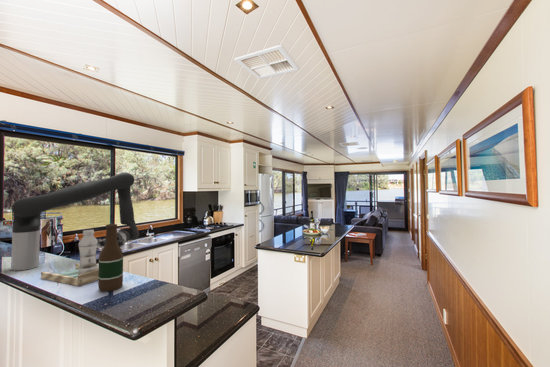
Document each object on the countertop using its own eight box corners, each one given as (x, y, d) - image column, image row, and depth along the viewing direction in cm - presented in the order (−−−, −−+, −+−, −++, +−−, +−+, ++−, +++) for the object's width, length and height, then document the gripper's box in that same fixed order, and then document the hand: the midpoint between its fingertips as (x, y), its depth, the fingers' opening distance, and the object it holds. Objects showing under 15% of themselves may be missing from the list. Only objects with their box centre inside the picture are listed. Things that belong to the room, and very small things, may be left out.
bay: (40, 278, 103) (41, 268, 103) (77, 268, 116) (77, 259, 117) (79, 286, 95) (79, 275, 95) (113, 274, 108) (114, 265, 108)
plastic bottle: (101, 275, 107) (102, 229, 107) (87, 281, 100) (88, 231, 101) (87, 275, 107) (88, 228, 108) (73, 280, 101) (74, 231, 101)
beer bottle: (127, 285, 96) (128, 223, 96) (108, 293, 88) (109, 226, 89) (112, 283, 98) (113, 222, 99) (92, 290, 91) (93, 225, 92)
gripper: (100, 233, 127) (81, 239, 111) (130, 232, 130) (116, 238, 114) (100, 247, 127) (81, 256, 111) (130, 246, 129) (116, 254, 113)
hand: (99, 247), depth 112 cm, fingers open, 8 cm apart
